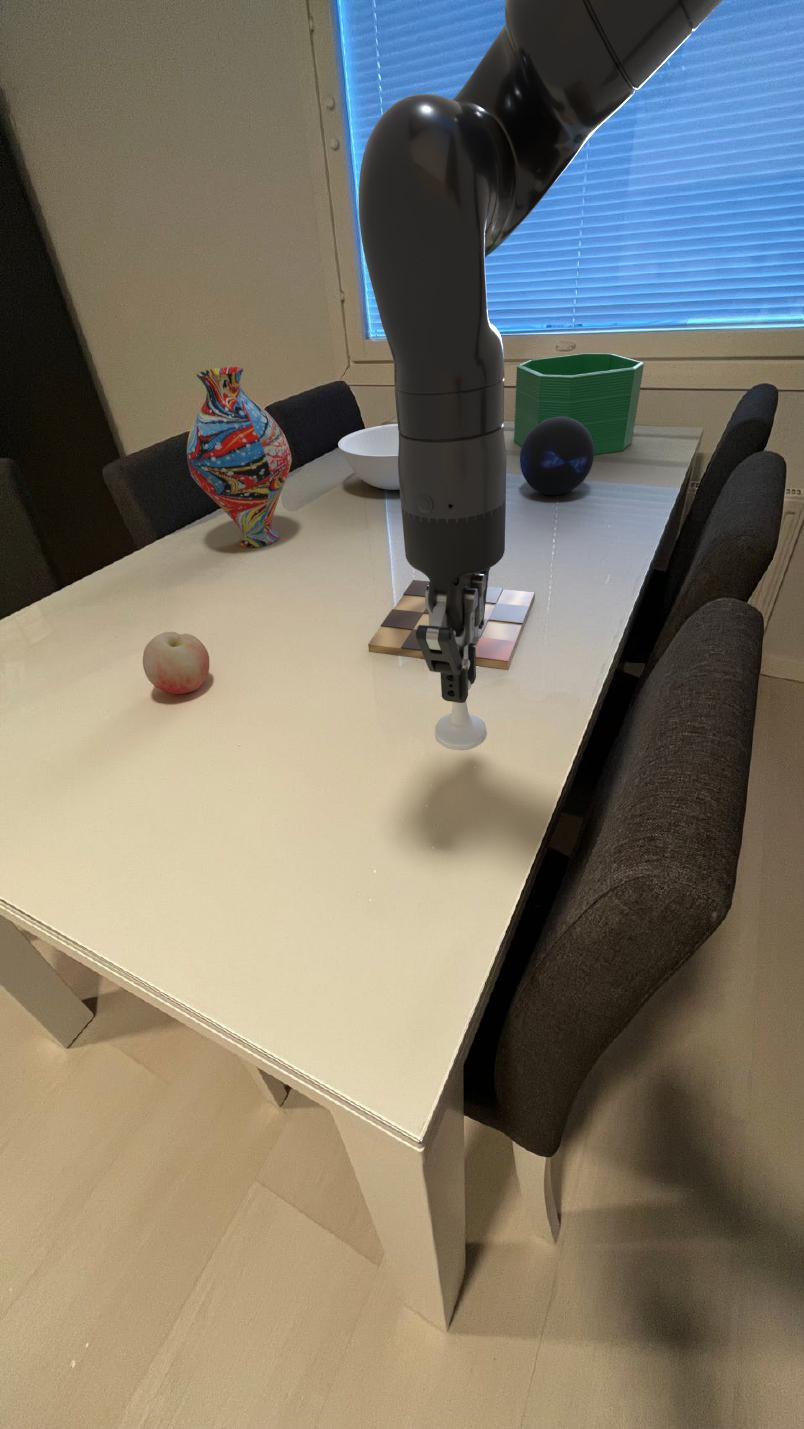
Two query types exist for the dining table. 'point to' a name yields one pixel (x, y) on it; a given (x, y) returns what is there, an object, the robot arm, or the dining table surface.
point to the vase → (238, 455)
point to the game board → (496, 635)
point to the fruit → (176, 662)
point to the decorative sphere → (557, 455)
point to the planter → (581, 396)
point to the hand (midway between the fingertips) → (459, 689)
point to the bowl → (374, 455)
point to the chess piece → (460, 728)
